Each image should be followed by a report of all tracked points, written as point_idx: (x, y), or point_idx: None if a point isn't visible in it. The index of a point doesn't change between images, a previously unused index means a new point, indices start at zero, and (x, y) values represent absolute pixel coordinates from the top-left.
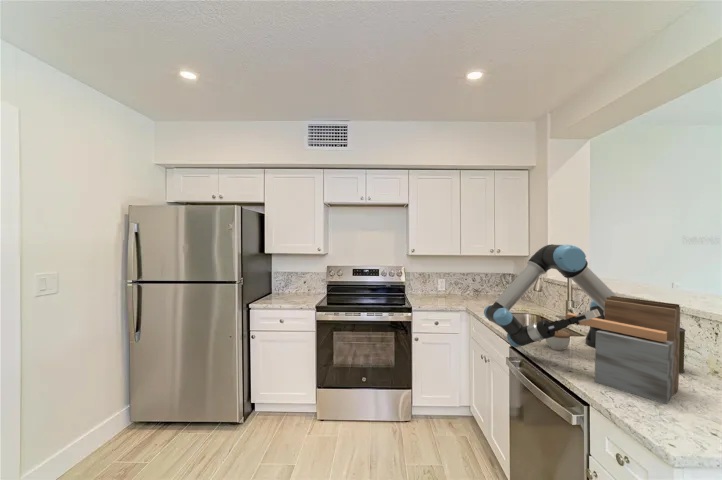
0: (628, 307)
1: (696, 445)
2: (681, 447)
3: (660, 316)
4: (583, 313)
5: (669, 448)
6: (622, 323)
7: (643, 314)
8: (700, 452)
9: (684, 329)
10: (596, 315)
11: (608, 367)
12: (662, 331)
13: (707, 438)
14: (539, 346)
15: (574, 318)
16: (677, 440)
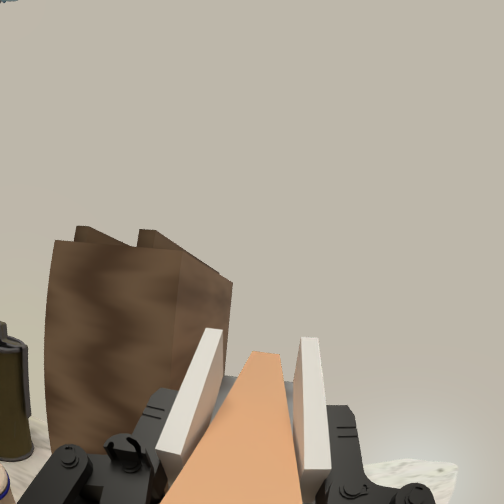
0: (209, 289)
1: (407, 466)
2: (432, 467)
3: (225, 309)
4: (324, 396)
5: (450, 467)
6: (246, 372)
7: (217, 312)
8: (419, 461)
9: (10, 336)
10: (217, 383)
11: None
12: (257, 352)
13: (370, 467)
14: None
15: (373, 485)
16: (420, 473)
